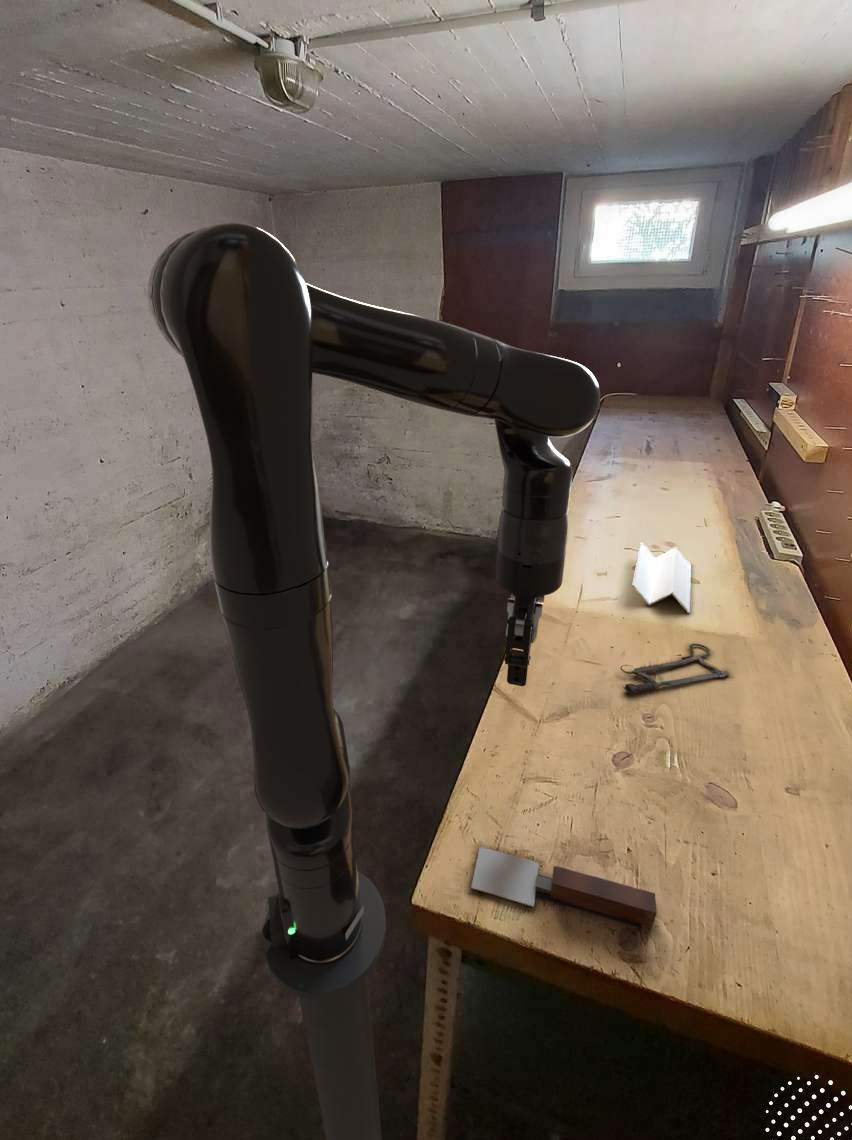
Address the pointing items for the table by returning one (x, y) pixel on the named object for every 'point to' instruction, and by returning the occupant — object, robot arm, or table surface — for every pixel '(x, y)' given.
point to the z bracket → (662, 576)
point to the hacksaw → (653, 684)
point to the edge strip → (547, 897)
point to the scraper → (561, 887)
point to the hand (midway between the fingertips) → (520, 661)
